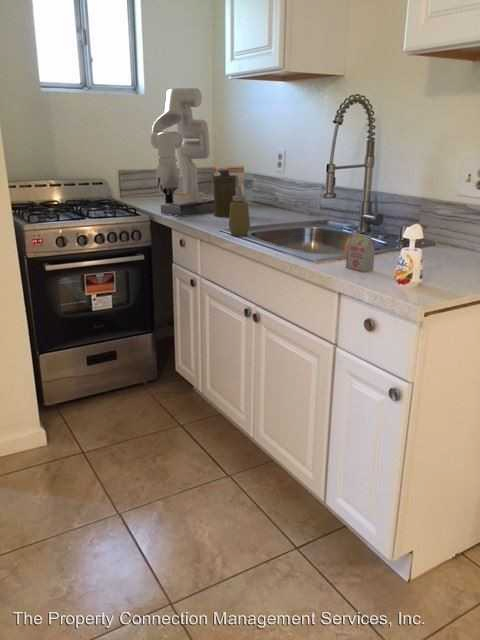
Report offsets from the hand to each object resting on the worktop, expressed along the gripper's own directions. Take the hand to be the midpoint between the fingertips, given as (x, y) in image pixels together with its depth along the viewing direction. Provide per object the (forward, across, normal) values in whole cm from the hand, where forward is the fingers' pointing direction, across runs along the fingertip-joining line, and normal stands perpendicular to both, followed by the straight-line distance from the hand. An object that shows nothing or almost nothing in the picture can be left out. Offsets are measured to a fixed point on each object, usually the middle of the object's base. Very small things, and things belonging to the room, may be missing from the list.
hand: (169, 203), depth 250 cm
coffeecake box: (+6, -42, -3) cm, 43 cm away
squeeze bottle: (+6, +14, +58) cm, 60 cm away
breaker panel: (+6, -12, 0) cm, 14 cm away
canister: (+6, -16, +20) cm, 27 cm away
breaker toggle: (+1, -7, 0) cm, 7 cm away
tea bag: (+6, +30, +119) cm, 123 cm away
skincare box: (+6, -18, -19) cm, 27 cm away
